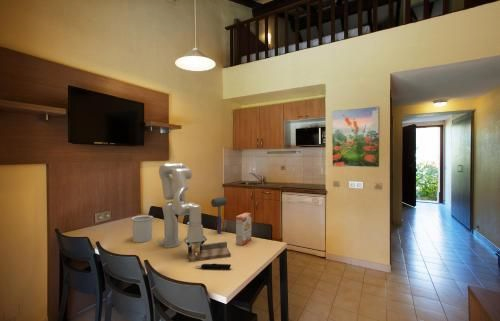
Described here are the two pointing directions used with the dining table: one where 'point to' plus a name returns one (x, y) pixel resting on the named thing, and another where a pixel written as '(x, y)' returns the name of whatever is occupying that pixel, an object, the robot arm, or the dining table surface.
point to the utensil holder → (142, 228)
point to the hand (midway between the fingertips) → (195, 251)
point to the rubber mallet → (219, 210)
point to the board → (210, 252)
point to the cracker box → (243, 228)
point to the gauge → (195, 248)
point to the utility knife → (214, 266)
